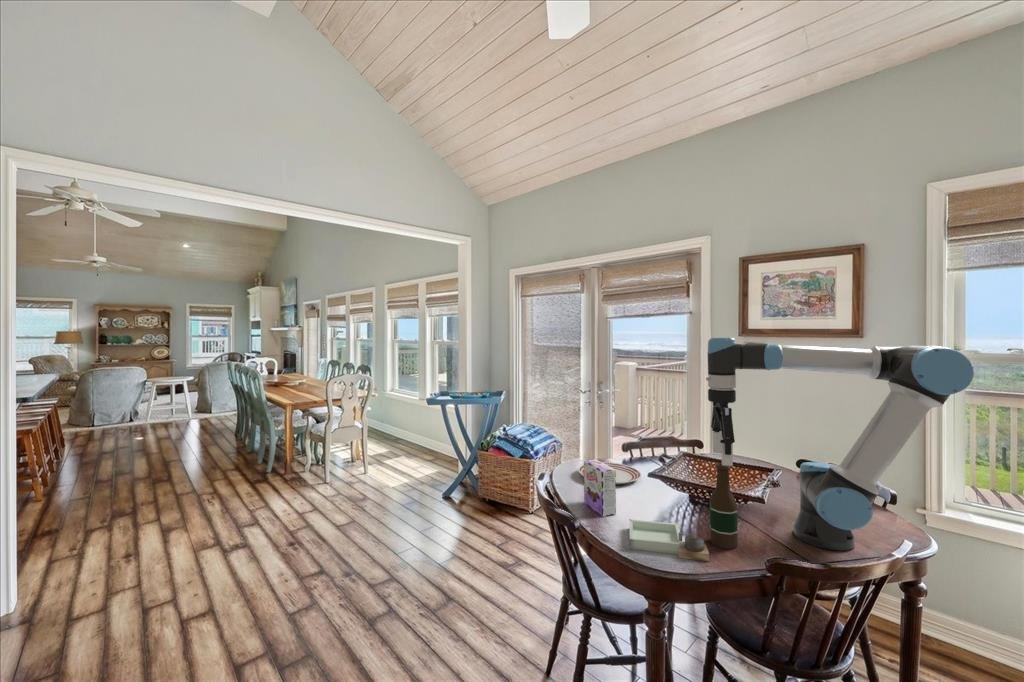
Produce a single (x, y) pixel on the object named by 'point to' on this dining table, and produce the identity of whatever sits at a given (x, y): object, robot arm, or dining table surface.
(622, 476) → the dinner plate
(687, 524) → the dining table surface
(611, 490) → the candy box
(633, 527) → the tray
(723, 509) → the beer bottle
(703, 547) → the grey stone on stand
